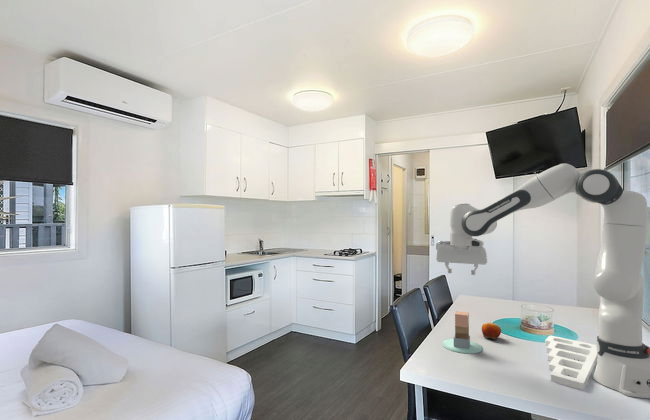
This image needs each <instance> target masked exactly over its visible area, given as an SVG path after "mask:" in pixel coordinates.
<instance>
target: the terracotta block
mask: <svg viewBox="0 0 650 420" xmlns="http://www.w3.org/2000/svg"><path fill="white" fill-rule="evenodd" d="M469 316H470V315H469V312H465V311H457V310H456V311H455V313H454V327H455V326H460V327H467V328H468V325H470V324H469V323H470V319H469V318H470V317H469Z"/></svg>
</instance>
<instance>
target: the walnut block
mask: <svg viewBox="0 0 650 420" xmlns="http://www.w3.org/2000/svg"><path fill="white" fill-rule="evenodd" d="M469 325H470V324H469ZM469 325H468V328H467V327H460V326H455V325H454V330H455V331H454V336H455V338H461V339H467V340H468V337H469V336H470V331H469V330H470V328H469V327H470V326H469Z"/></svg>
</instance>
